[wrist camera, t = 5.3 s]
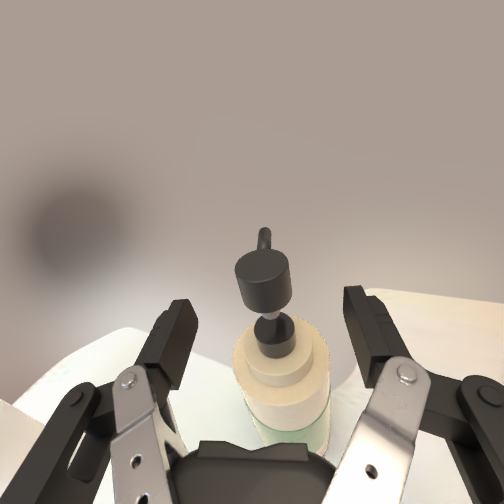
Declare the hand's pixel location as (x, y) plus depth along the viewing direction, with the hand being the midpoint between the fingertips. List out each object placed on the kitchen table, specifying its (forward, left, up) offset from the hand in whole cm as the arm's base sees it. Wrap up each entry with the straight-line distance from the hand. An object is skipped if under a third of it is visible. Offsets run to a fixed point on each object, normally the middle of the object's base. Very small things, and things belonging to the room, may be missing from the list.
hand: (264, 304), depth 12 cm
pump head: (+1, -3, -3) cm, 4 cm away
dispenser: (+1, -2, -20) cm, 20 cm away
